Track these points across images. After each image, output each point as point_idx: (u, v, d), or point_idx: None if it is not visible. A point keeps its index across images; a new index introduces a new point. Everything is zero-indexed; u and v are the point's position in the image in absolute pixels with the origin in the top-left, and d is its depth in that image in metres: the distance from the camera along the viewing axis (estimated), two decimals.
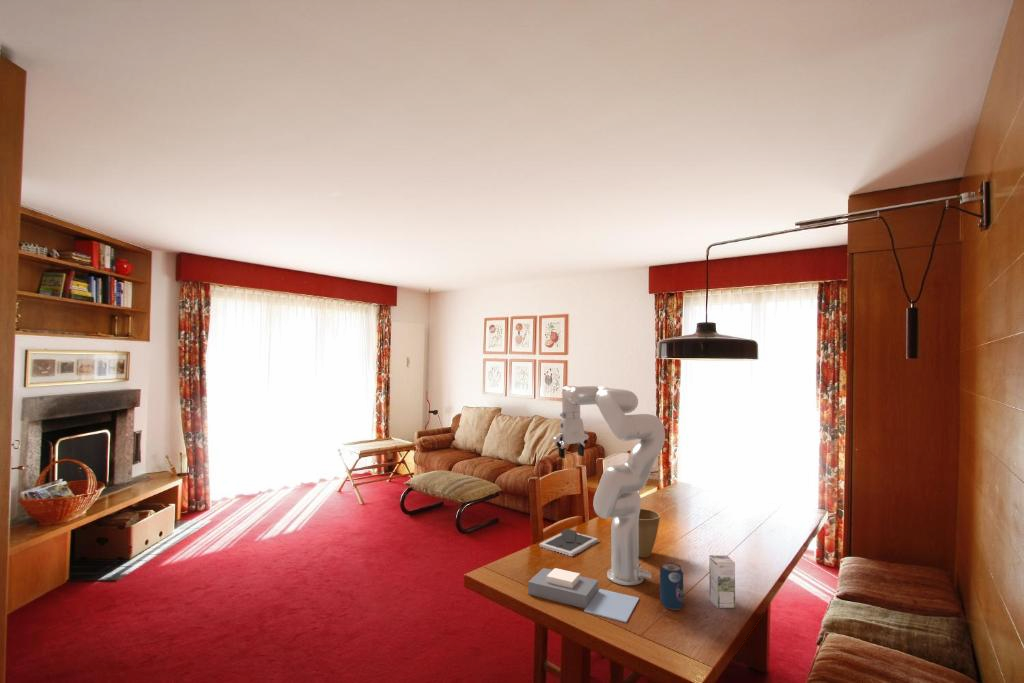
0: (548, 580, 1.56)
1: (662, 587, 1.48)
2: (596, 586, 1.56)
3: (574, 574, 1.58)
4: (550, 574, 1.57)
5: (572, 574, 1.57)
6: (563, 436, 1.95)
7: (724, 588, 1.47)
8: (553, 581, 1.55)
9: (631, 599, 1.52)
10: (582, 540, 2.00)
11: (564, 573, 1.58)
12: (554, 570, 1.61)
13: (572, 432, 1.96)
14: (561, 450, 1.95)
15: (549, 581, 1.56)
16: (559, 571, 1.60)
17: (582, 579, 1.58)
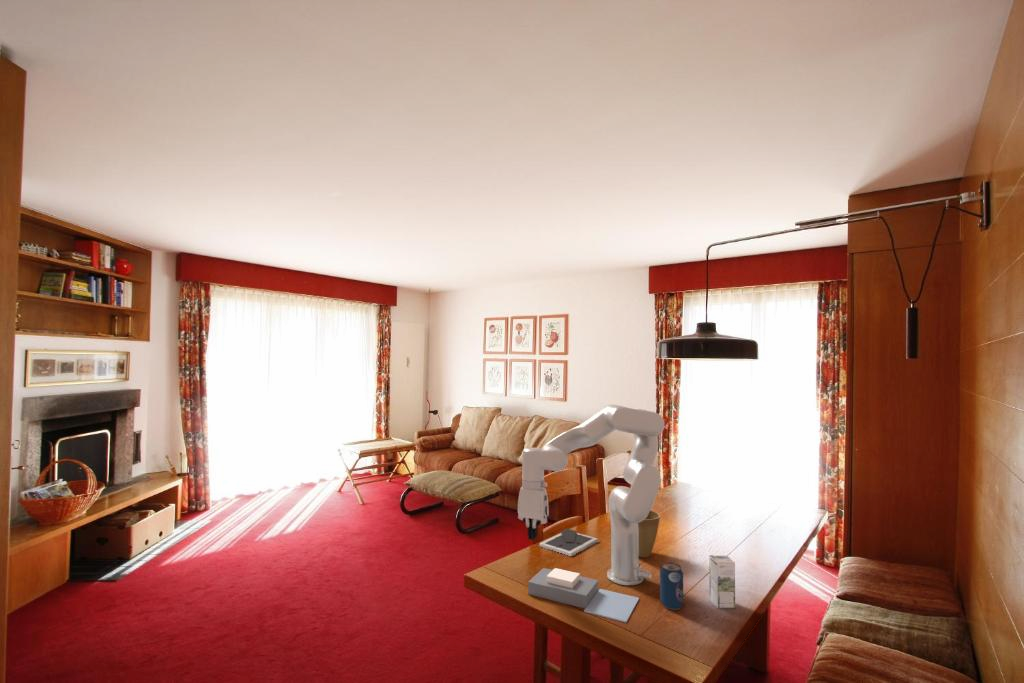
0: (548, 580, 1.56)
1: (662, 587, 1.48)
2: (596, 586, 1.56)
3: (574, 574, 1.58)
4: (550, 574, 1.57)
5: (572, 574, 1.57)
6: (547, 509, 1.62)
7: (724, 589, 1.47)
8: (553, 581, 1.55)
9: (631, 599, 1.52)
10: (582, 540, 2.00)
11: (564, 573, 1.58)
12: (554, 570, 1.61)
13: None
14: None
15: (549, 581, 1.56)
16: (559, 571, 1.60)
17: (582, 579, 1.58)
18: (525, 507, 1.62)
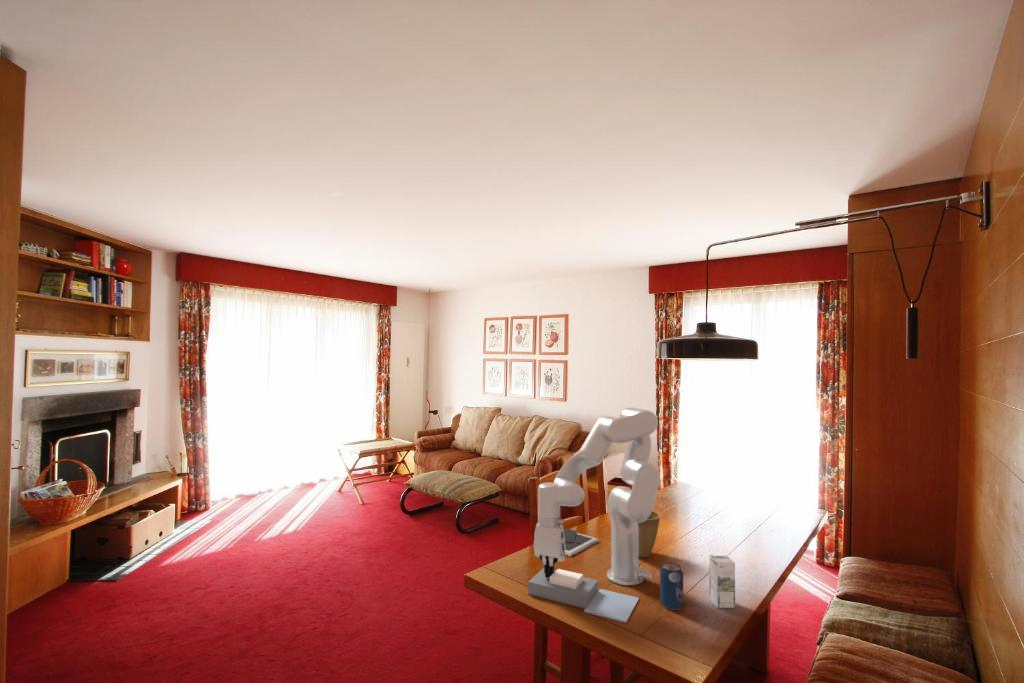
0: (551, 581, 1.55)
1: (662, 587, 1.48)
2: (596, 586, 1.56)
3: (578, 574, 1.57)
4: (553, 575, 1.57)
5: (575, 575, 1.57)
6: (564, 546, 1.59)
7: (724, 589, 1.47)
8: (556, 581, 1.54)
9: (631, 599, 1.52)
10: (582, 540, 2.00)
11: (567, 574, 1.57)
12: (558, 571, 1.60)
13: None
14: None
15: (552, 582, 1.55)
16: (562, 572, 1.59)
17: None
18: (541, 544, 1.59)
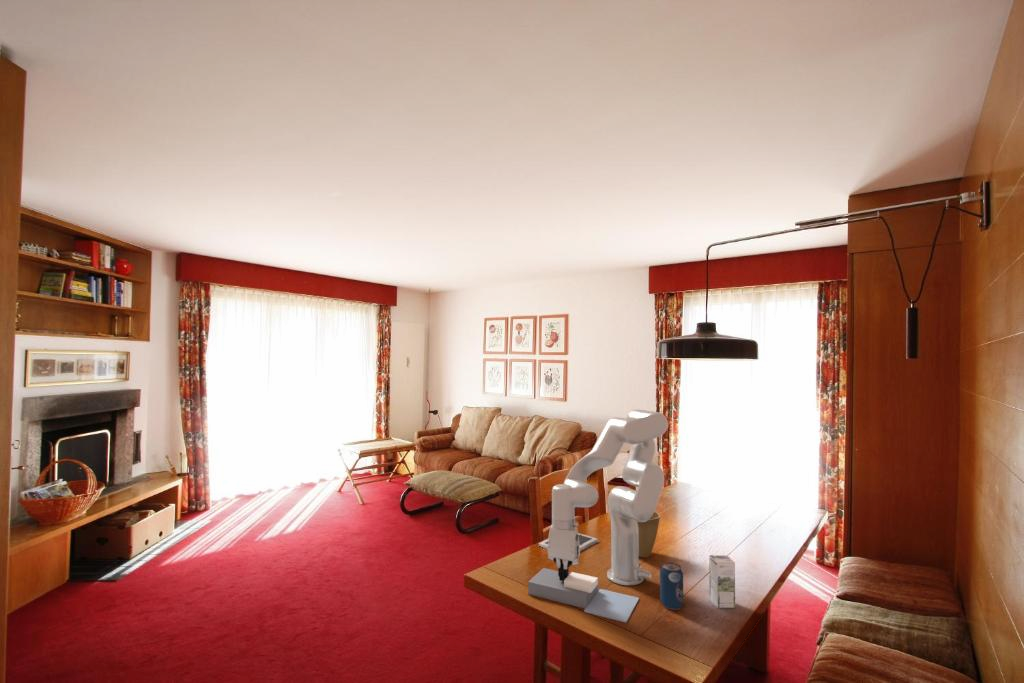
0: (566, 584, 1.53)
1: (662, 587, 1.48)
2: (596, 586, 1.56)
3: (592, 578, 1.54)
4: (568, 578, 1.54)
5: (590, 578, 1.54)
6: (579, 549, 1.56)
7: (724, 589, 1.47)
8: (570, 585, 1.52)
9: (631, 599, 1.52)
10: (582, 540, 2.00)
11: (582, 578, 1.55)
12: (572, 574, 1.57)
13: None
14: None
15: (567, 585, 1.52)
16: (576, 575, 1.57)
17: None
18: (556, 547, 1.56)
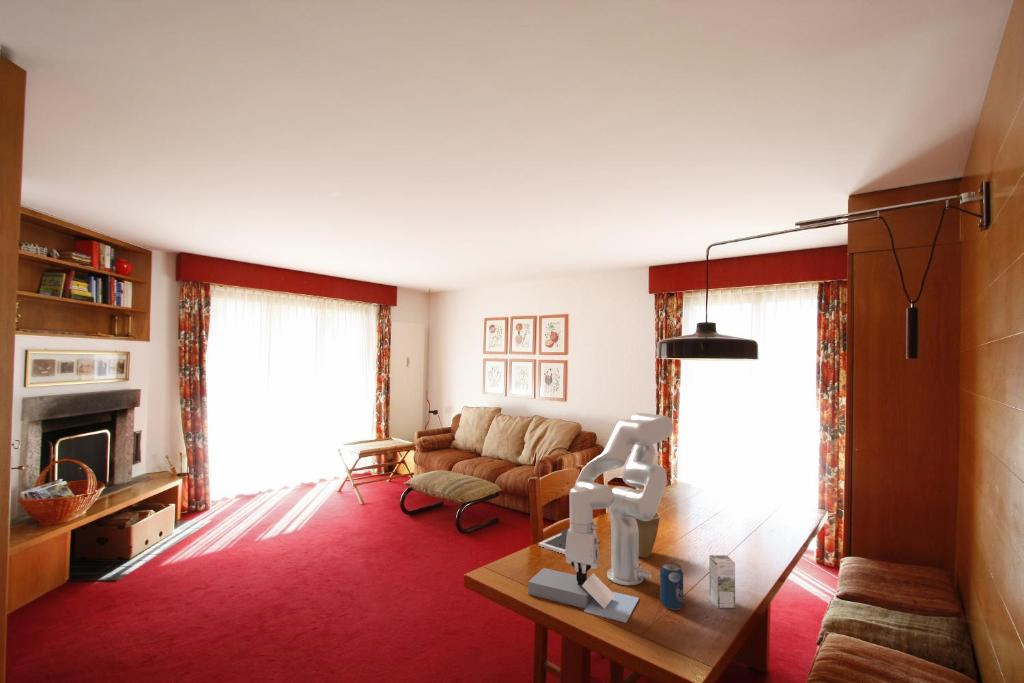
0: (584, 586, 1.49)
1: (662, 587, 1.48)
2: None
3: (610, 593, 1.51)
4: (588, 581, 1.50)
5: (608, 592, 1.51)
6: (597, 553, 1.53)
7: (724, 589, 1.47)
8: (589, 589, 1.49)
9: (631, 599, 1.52)
10: None
11: (601, 587, 1.51)
12: (593, 576, 1.54)
13: None
14: None
15: (585, 587, 1.49)
16: (596, 580, 1.53)
17: None
18: (574, 551, 1.53)
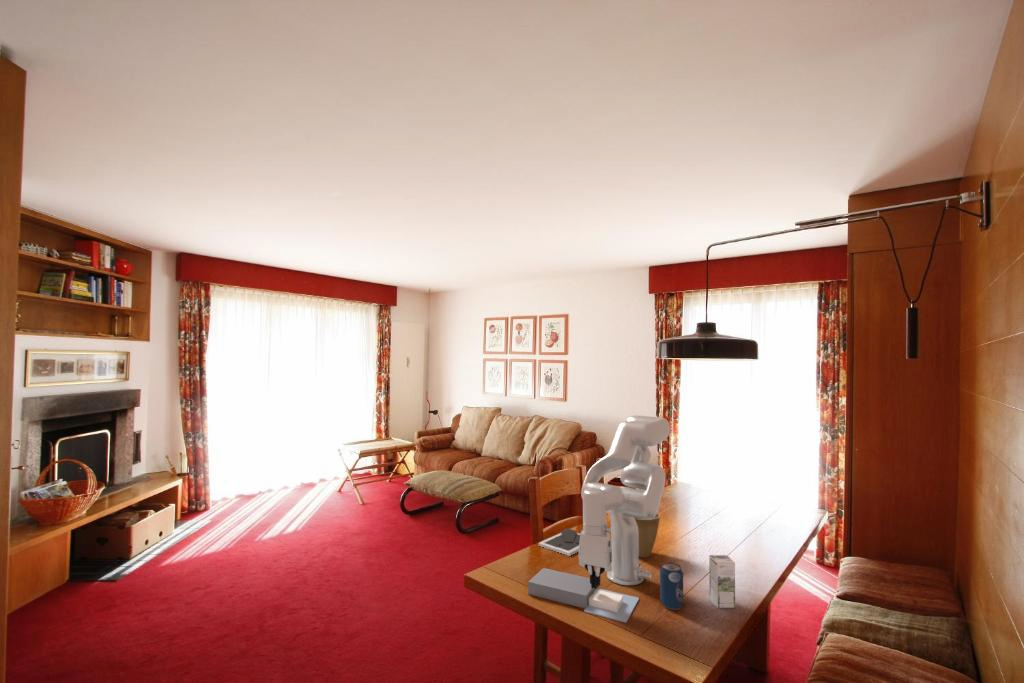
0: (590, 603, 1.48)
1: (662, 587, 1.48)
2: None
3: (617, 596, 1.50)
4: (592, 596, 1.50)
5: (615, 596, 1.50)
6: (611, 555, 1.51)
7: (724, 589, 1.47)
8: (595, 604, 1.47)
9: (631, 599, 1.52)
10: None
11: (606, 596, 1.50)
12: (596, 591, 1.53)
13: None
14: None
15: (591, 604, 1.48)
16: (600, 593, 1.52)
17: (582, 579, 1.58)
18: (587, 553, 1.51)
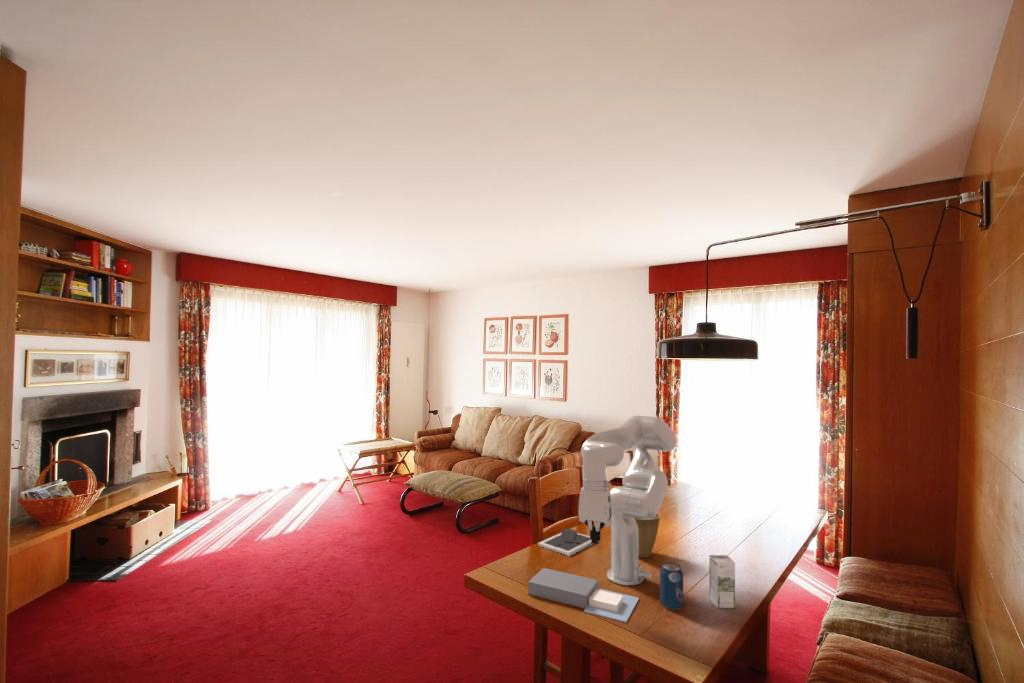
0: (590, 603, 1.48)
1: (662, 587, 1.48)
2: (596, 586, 1.56)
3: (617, 596, 1.50)
4: (592, 596, 1.50)
5: (615, 596, 1.50)
6: (611, 511, 1.52)
7: (724, 589, 1.47)
8: (595, 604, 1.47)
9: (631, 599, 1.52)
10: (582, 540, 2.00)
11: (606, 596, 1.50)
12: (596, 591, 1.53)
13: None
14: None
15: (591, 604, 1.48)
16: (600, 593, 1.52)
17: (582, 579, 1.58)
18: (587, 509, 1.52)
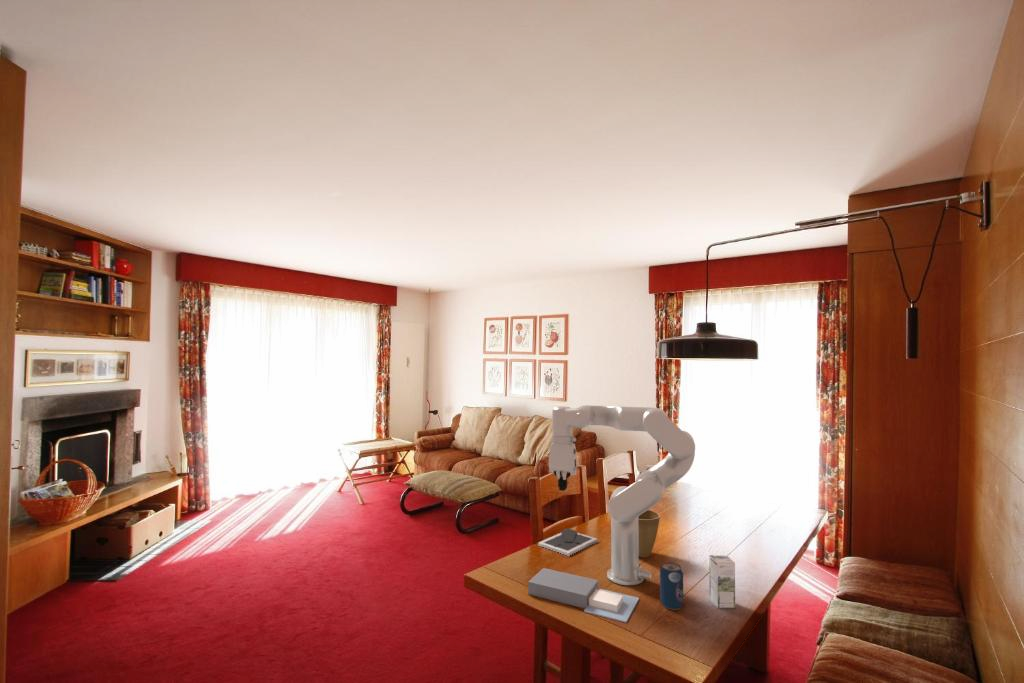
0: (590, 603, 1.48)
1: (662, 587, 1.48)
2: (596, 586, 1.56)
3: (617, 596, 1.50)
4: (592, 596, 1.50)
5: (615, 596, 1.50)
6: (576, 462, 1.76)
7: (724, 589, 1.47)
8: (595, 604, 1.47)
9: (631, 599, 1.52)
10: (581, 540, 2.00)
11: (606, 596, 1.50)
12: (596, 591, 1.53)
13: None
14: None
15: (591, 604, 1.48)
16: (600, 593, 1.52)
17: (582, 579, 1.58)
18: (556, 460, 1.76)
